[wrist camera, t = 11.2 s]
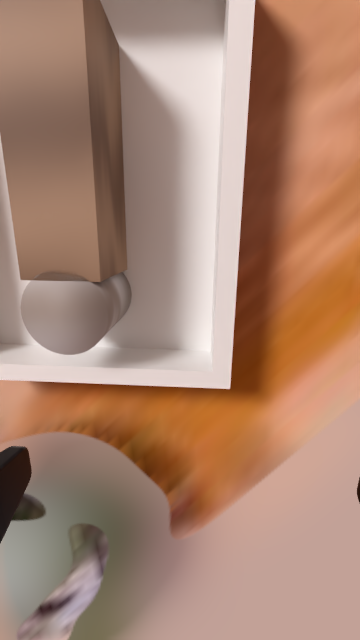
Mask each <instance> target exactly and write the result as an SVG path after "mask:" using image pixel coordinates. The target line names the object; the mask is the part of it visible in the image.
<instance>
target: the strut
mask: <svg viewBox="0 0 360 640" xmlns="http://www.w3.org/2000/svg"><path fill="white" fill-rule="evenodd" d="M0 136H1V143H2V150H3V158H4V165H5V172H6V179H7V186H8V193H9V201H10V208H11V215H12V222H13V229H14V237H15V244H16V251H17V258H18V265H19V272H20V280H31V281H30V282H29V283H28V285H27V286H26V288H25V290H24V292H23V295H22V298H21V316H22V320H23V323H24V325H25V327H26V329H27V331H28V332H29V334H30V335H31V336H32V338H33V339H34V340H35V341H36V342H37V343H39V344H40V345H41V346H43V347H44V348H46V349H48V350H50V351H52V352H55V353H58V354H63V355H75V354H80V353H83V352H86V351H88V350H90V349H91V348H93V347H94V346H95V345H96V344H97V343H98V342H99V341H100V340H101V339H102V338H103V337H104V336H105V335H106V334H107V333H108V332H109V330H110V329H111V328H112V327H113V326H114V325H115V324H116V323H117V322H118V321H119V320H120V319H121V318H122V317H123V316H124V315H125V313H126V312H127V310H128V308H129V306H130V303H131V297H132V293H131V287H130V284H129V281H128V279H127V278H126V276H125V275H124V273H123V271H125V270H127V245H126V218H125V191H124V165H123V138H122V112H121V85H120V59H119V44H118V42H117V40H116V37H115V35H114V32H113V30H112V28H111V25H110V23H109V20H108V18H107V16H106V13H105V11H104V8H103V6H102V4H101V1H100V0H0Z"/></svg>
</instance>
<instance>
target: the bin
mask: <svg viewBox="0 0 360 640" xmlns="http://www.w3.org/2000/svg"><path fill="white" fill-rule="evenodd" d="M100 1H101V4H102V6H103V8H104V11H105V13H106V16H107V18H108V20H109V23H110V25H111V28H112V30H113V32H114V35H115V37H116V40H117V42H118V44H119V59H120V85H121V112H122V138H123V165H124V191H125V218H126V245H127V270H125V271H123V273H124V275H125V276H126V278H127V279H128V281H129V284H130V287H131V293H132V297H131V303H130V306H129V308H128V310H127V312H126V313H125V315H124V316H123V317H122V318H121V319H120V320H119V321H118V322H117V323H116V324H115V325H114V326H113V327H112V328H111V329H110V330H109V332H108V333H107V334H106V335H105V336H104V337H103V338H102V339H101V340H100V341H99V342H98V343H97V344H96V345H95V346H94V347H93V348H91V349H90V350H88V351H86V352H83V353H80V354H75V355H63V354H58V353H55V352H52V351H50V350H48V349H46V348H44V347H43V346H41V345H40V344H39V343H37V342H36V341H35V340H34V339H33V338H32V336H31V335H30V334H29V332H28V331H27V329H26V327H25V325H24V323H23V320H22V316H21V298H22V295H23V292H24V290H25V288H26V286H27V285H28V283H29V282H30V281H31V280H20V272H19V265H18V258H17V251H16V244H15V237H14V229H13V222H12V215H11V208H10V201H9V193H8V186H7V179H6V172H5V165H4V158H3V150H2V143H1V136H0V380H18V381H43V382H68V383H93V384H118V385H143V386H168V387H194V388H219V389H230V383H231V368H232V352H233V337H234V321H235V306H236V290H237V275H238V259H239V244H240V228H241V213H242V197H243V182H244V166H245V151H246V135H247V120H248V104H249V89H250V74H251V58H252V43H253V27H254V12H255V0H100Z"/></svg>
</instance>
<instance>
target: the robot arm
mask: <svg viewBox="0 0 360 640" xmlns="http://www.w3.org/2000/svg"><path fill="white" fill-rule="evenodd" d="M30 478H31V464H30V458H29V452H28V450H27V448H26V447H21V446H11V447H9V448H7V449H5V450H4V451H2V452H0V543H1V541H2V539H3V537H4V535H5V533H6V531H7V528H8V526H9V524H10V522H11V520H12V518H13V516H14V513H15V511H16V509H17V507H18V505H19V503H20V500H21V498H22V496H23V494H24V492H25V490H26V487H27V485H28V483H29V481H30ZM357 495H358V499H359V502H360V478H359V483H358V488H357Z"/></svg>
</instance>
